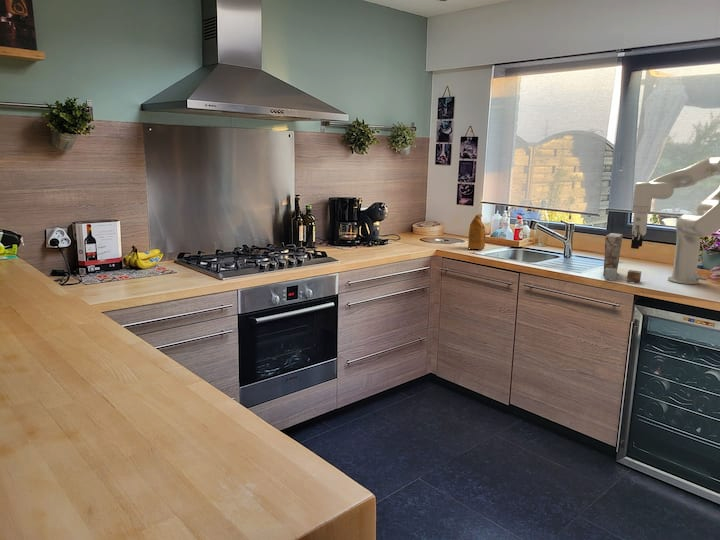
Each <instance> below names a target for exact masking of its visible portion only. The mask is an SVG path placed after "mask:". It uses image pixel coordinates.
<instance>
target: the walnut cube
mask: <svg viewBox="0 0 720 540" xmlns="http://www.w3.org/2000/svg"><path fill="white" fill-rule="evenodd" d="M641 278H642V271H641V270H635V269H634V270H633V269H629V270H628V271H627V277H626V283H630V282H634V283H633V284H638V283H639V284H640V283H641Z"/></svg>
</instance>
